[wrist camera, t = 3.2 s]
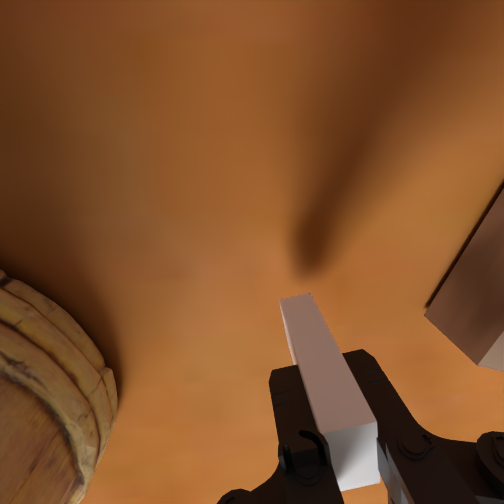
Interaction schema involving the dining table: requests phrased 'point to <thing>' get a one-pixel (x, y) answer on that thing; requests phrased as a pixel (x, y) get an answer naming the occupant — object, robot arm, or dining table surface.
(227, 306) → the dining table surface
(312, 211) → the dining table surface
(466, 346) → the folding leg
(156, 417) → the dining table surface
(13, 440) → the tankard
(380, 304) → the dining table surface
